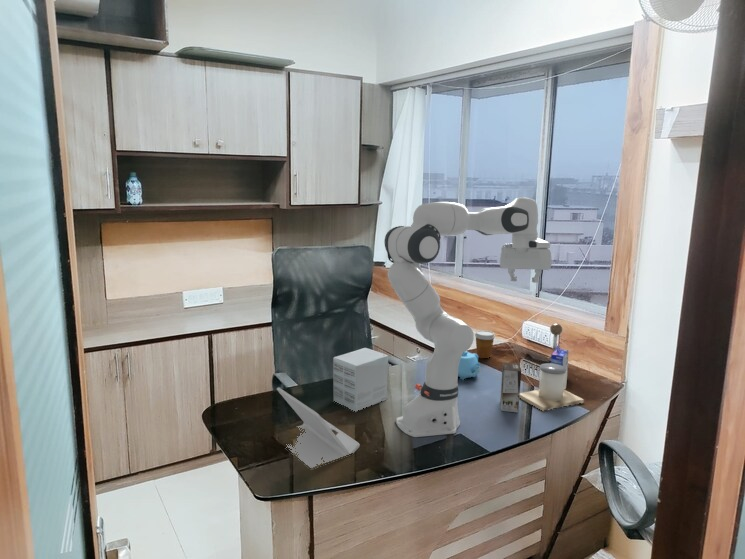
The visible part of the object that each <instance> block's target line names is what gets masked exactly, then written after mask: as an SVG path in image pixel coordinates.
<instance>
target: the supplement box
mask: <svg viewBox="0 0 745 559" xmlns="http://www.w3.org/2000/svg"><path fill="white" fill-rule="evenodd" d="M332 359H333V360H332V362H333V363H332V364H333V369H332V370H333V371H332V372H333V373H332V374H333V377H332V378H333V402H334V401H335V402H337V403H339V404H341V405H344V406H346V407H348V408H349V409H351V410H350V411H352V410H353V411H352V412H354V411H355V412H354V413H357V412H359V411H361V410H364V409H366V407H367V408H369V407H371V405H372V406H374V405H376V404H379V403H382V402H384V401H387V400H388V398H389V397H388V391H389V388H388V386H389V385H388V384H389V383H388V382H389V355H388V354H386V353H383V352H380V351H376V350H373V349H371V348H367V347H363V348H360V349H357V350H354V351H350V352H347V353H344V354H340V355H337V356H334V357H333V358H332ZM381 401H382V402H381ZM335 402H334V403H335ZM337 403H336V404H337ZM339 404H338V405H339ZM341 405H340V406H341ZM363 408H364V409H363ZM349 409H348V410H349ZM358 410H359V411H358Z"/></svg>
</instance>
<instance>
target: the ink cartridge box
mask: <svg viewBox="0 0 745 559" xmlns="http://www.w3.org/2000/svg"><path fill="white" fill-rule="evenodd" d="M550 363H552V364H558V365H561V366H563V367H565V368H566V371H567V372H568V369H569V368H568V367H569V350H567V349H562V348H560V345H557V346H556V350H553V352H552V353H551V355H550Z"/></svg>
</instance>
